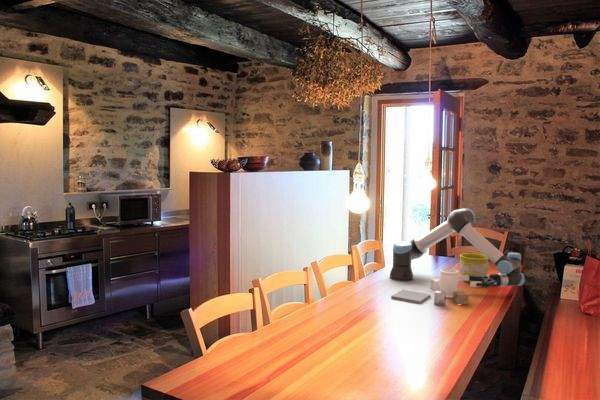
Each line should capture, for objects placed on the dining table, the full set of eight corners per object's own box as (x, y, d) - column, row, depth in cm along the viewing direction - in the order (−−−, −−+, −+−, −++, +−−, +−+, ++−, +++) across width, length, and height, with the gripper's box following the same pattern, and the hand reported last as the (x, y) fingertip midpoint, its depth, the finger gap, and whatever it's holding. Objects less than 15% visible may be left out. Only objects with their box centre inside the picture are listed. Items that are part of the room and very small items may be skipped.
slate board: (402, 292, 297) (402, 289, 297) (430, 297, 287) (430, 294, 287) (391, 298, 284) (391, 295, 284) (420, 303, 274) (420, 301, 274)
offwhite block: (430, 288, 306) (430, 278, 305) (439, 288, 307) (439, 278, 306) (434, 291, 300) (435, 281, 299) (444, 290, 301) (444, 280, 300)
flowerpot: (492, 284, 316) (493, 259, 314) (463, 284, 316) (464, 258, 314) (482, 277, 333) (483, 253, 332) (455, 277, 334) (456, 252, 332)
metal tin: (436, 302, 278) (436, 289, 277) (447, 304, 275) (447, 291, 274) (432, 304, 273) (432, 292, 272) (443, 306, 270) (443, 294, 269)
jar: (455, 293, 294) (456, 268, 293) (459, 299, 284) (460, 272, 283) (437, 293, 295) (438, 268, 294) (440, 298, 285) (441, 272, 284)
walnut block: (452, 302, 278) (452, 291, 278) (462, 301, 279) (463, 291, 279) (457, 305, 272) (458, 294, 272) (468, 304, 274) (468, 294, 273)
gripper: (510, 292, 283) (475, 293, 279) (486, 280, 307) (453, 282, 303) (511, 279, 282) (476, 280, 278) (486, 268, 306) (454, 270, 302)
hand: (464, 281), depth 291 cm, fingers open, 13 cm apart
